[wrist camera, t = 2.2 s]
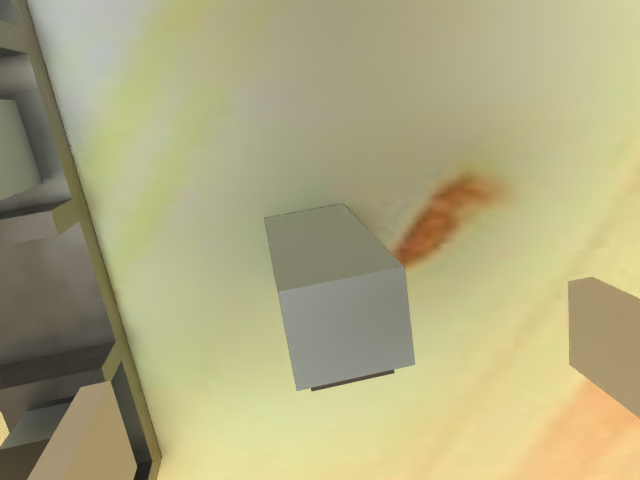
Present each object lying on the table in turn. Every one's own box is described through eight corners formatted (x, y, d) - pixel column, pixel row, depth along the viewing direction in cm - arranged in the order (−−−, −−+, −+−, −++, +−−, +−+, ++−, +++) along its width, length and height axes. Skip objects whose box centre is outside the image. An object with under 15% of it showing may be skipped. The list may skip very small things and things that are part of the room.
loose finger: (264, 218, 24) (277, 292, 15) (342, 203, 25) (404, 266, 15) (279, 296, 26) (300, 411, 16) (353, 281, 26) (417, 385, 16)
